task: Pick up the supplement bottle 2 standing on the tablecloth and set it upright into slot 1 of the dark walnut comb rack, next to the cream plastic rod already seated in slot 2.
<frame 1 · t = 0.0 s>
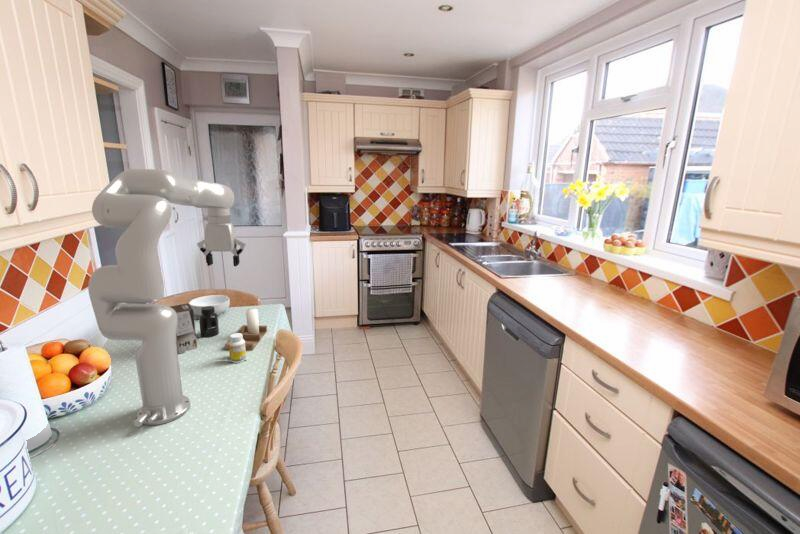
hand: (223, 265, 141), 31 cm above the table, fingers open, 9 cm apart
rack: (247, 341, 149), on the table
supplement bottle: (210, 335, 153), on the table
cereal bowl: (211, 314, 175), on the table
rod: (253, 335, 153), point 1 cm above the table, touching rack
coffee box: (186, 347, 142), on the table
supplement bottle 2: (238, 360, 135), on the table
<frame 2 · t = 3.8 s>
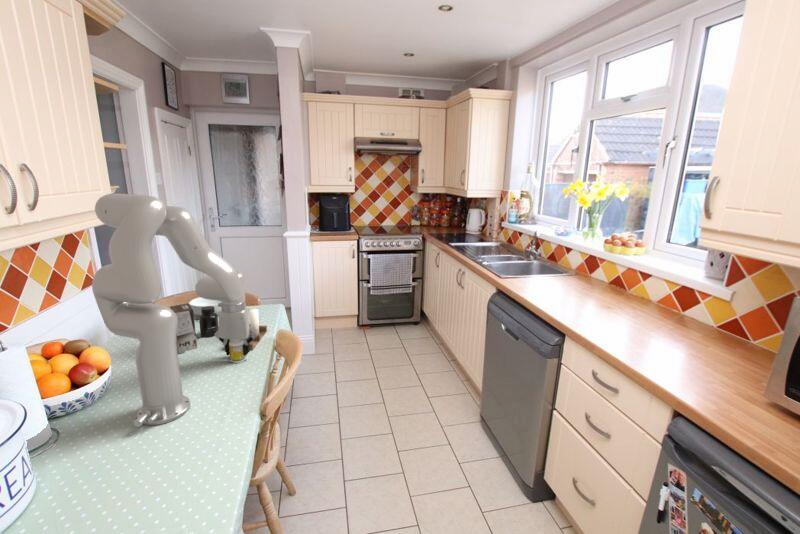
hand: (237, 353, 134), 2 cm above the table, fingers closed on supplement bottle 2, 5 cm apart
supplement bottle 2: (238, 360, 135), on the table, touching gripper
everything else where it was.
when the fingers open (4 cm above the table, at t = 9.0 s): supplement bottle 2 stays where it is, resting on rack.
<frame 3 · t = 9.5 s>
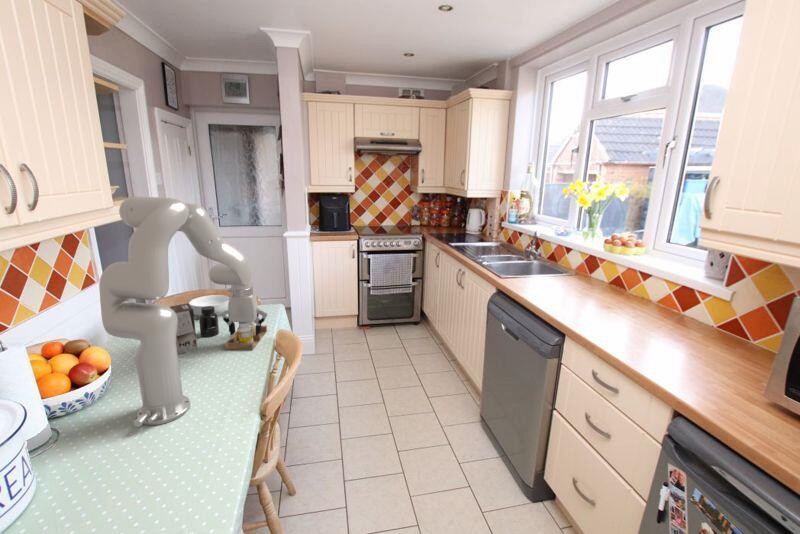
hand: (245, 333, 144), 5 cm above the table, fingers open, 9 cm apart
supplement bottle 2: (246, 345, 145), resting on rack
everything else where it was.
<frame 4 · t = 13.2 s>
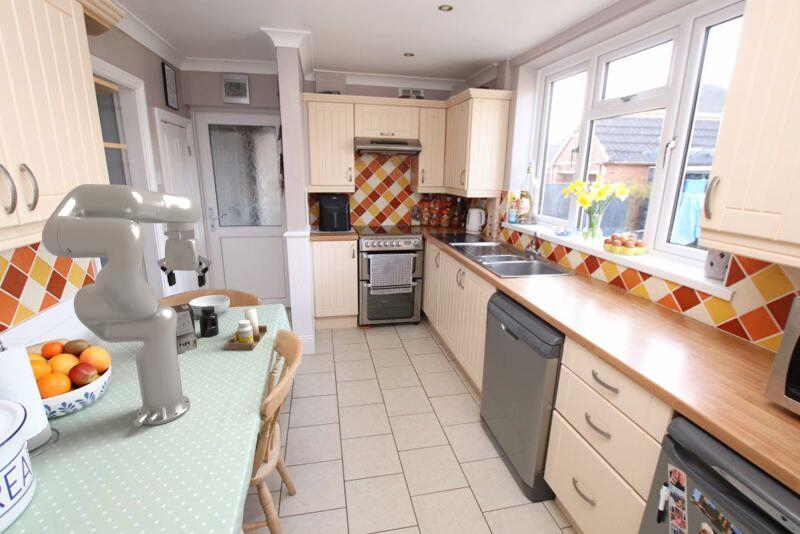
hand: (187, 285, 125), 28 cm above the table, fingers open, 9 cm apart
at the end: supplement bottle 2 inside the target area on the rack (0.3 cm from its centre), point 0.4 cm above the rack's base; supplement bottle 2 tilted 0°; the gripper is holding nothing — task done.
